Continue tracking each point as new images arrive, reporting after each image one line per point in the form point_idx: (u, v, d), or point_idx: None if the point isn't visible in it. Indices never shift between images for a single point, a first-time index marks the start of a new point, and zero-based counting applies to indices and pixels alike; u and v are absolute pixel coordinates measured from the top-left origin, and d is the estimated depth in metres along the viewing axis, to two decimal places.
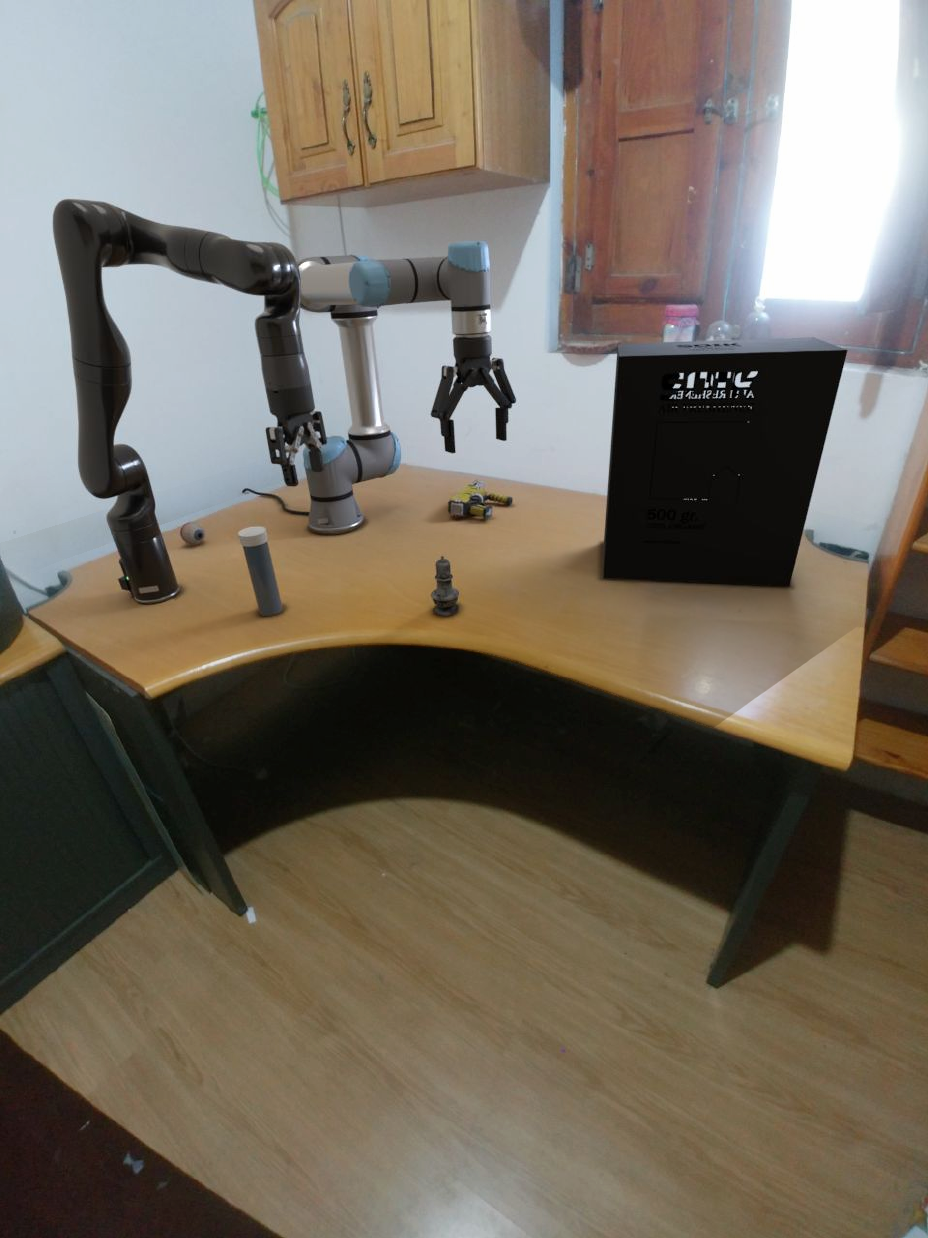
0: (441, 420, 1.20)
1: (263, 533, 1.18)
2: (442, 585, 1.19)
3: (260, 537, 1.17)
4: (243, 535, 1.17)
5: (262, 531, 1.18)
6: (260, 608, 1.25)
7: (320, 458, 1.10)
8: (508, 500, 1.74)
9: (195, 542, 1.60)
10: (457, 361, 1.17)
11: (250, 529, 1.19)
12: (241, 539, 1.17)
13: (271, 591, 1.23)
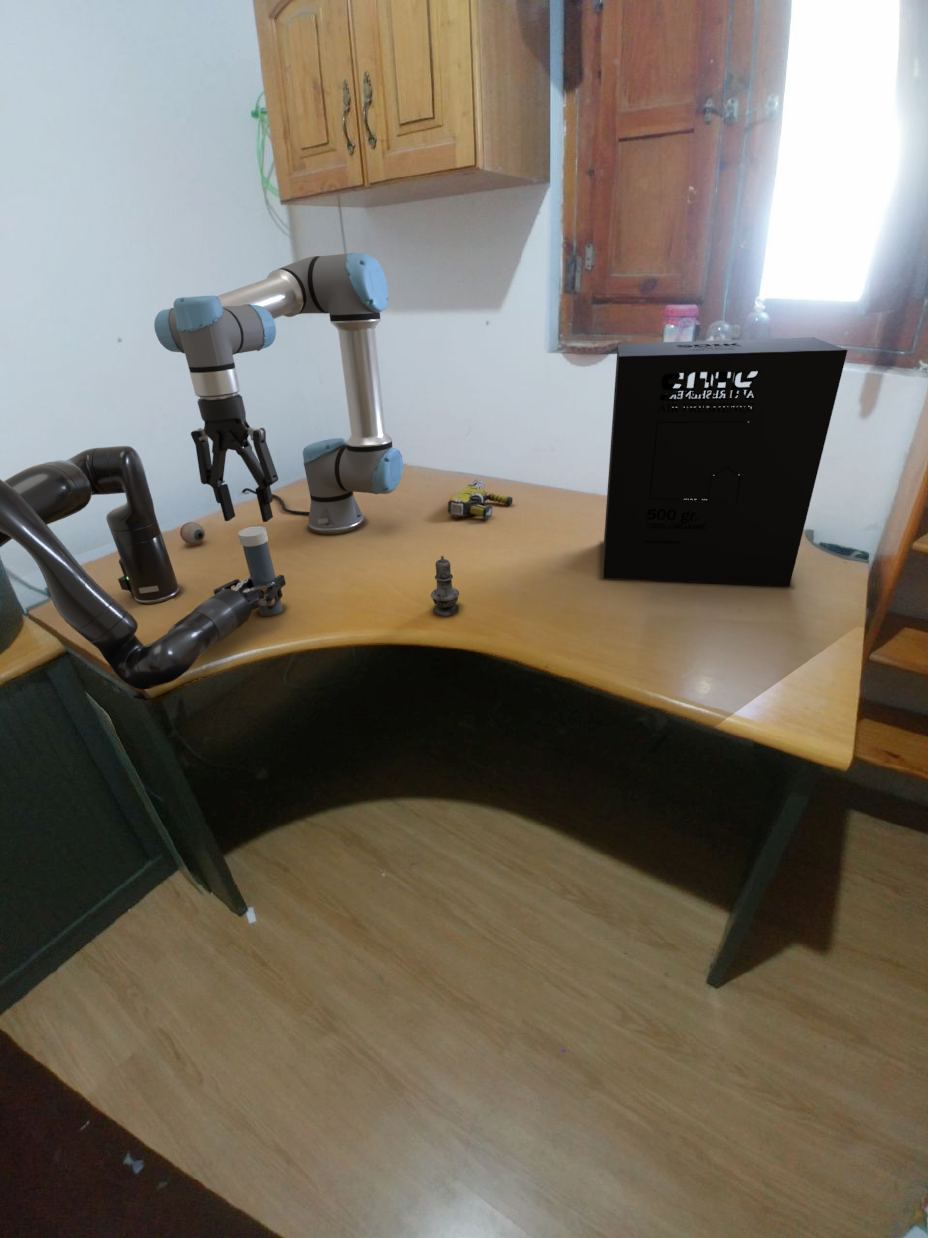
0: (268, 486, 1.13)
1: (263, 533, 1.18)
2: (442, 585, 1.19)
3: (260, 537, 1.17)
4: (243, 535, 1.17)
5: (262, 531, 1.18)
6: (260, 608, 1.25)
7: None
8: (508, 500, 1.74)
9: (195, 542, 1.60)
10: (244, 420, 1.07)
11: (250, 529, 1.19)
12: (241, 539, 1.17)
13: None
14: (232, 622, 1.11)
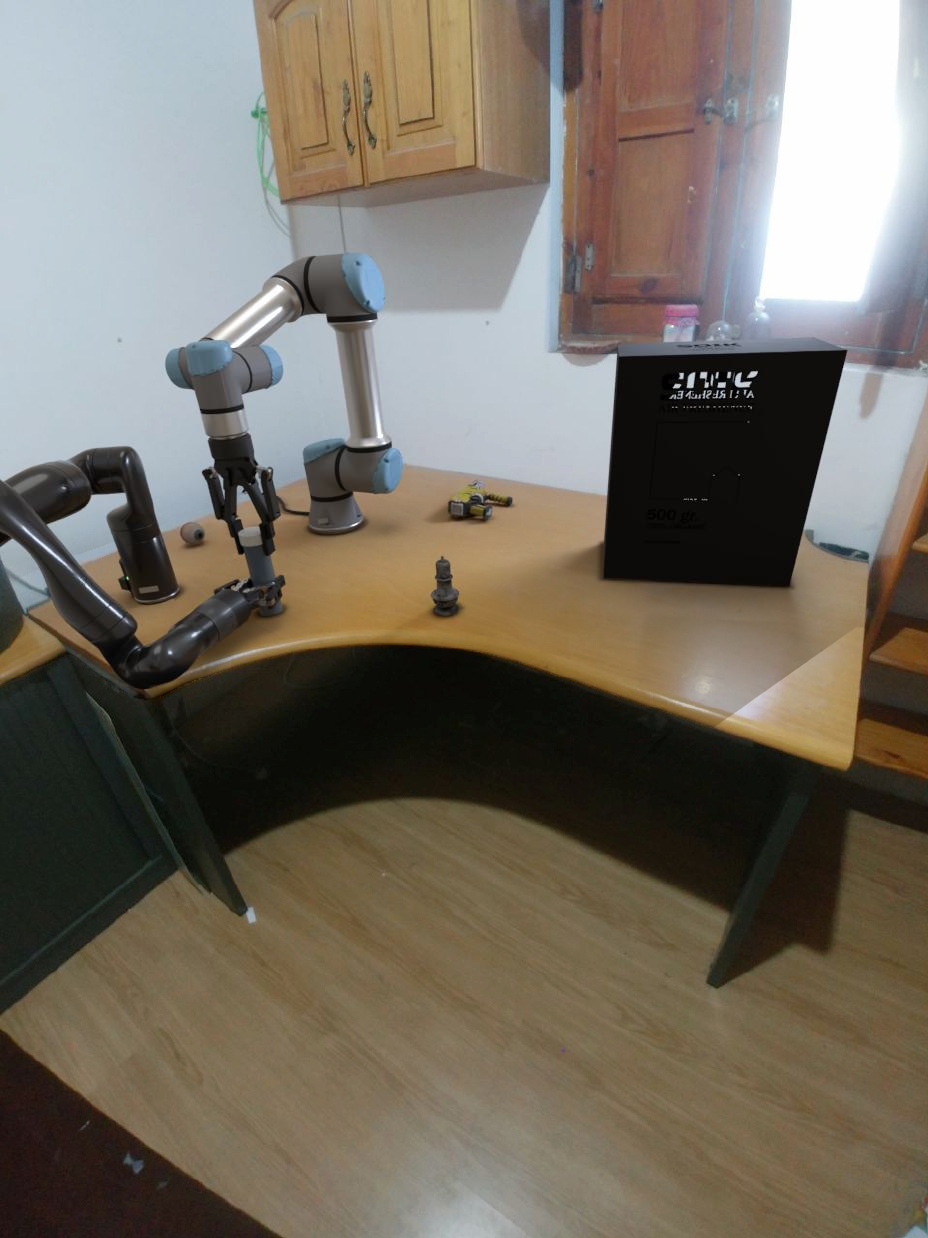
0: (271, 522, 1.17)
1: None
2: (442, 585, 1.19)
3: (260, 537, 1.17)
4: (243, 535, 1.17)
5: None
6: (260, 608, 1.25)
7: None
8: (508, 500, 1.74)
9: (195, 542, 1.60)
10: (252, 458, 1.11)
11: (250, 529, 1.19)
12: (241, 539, 1.17)
13: None
14: (232, 622, 1.11)
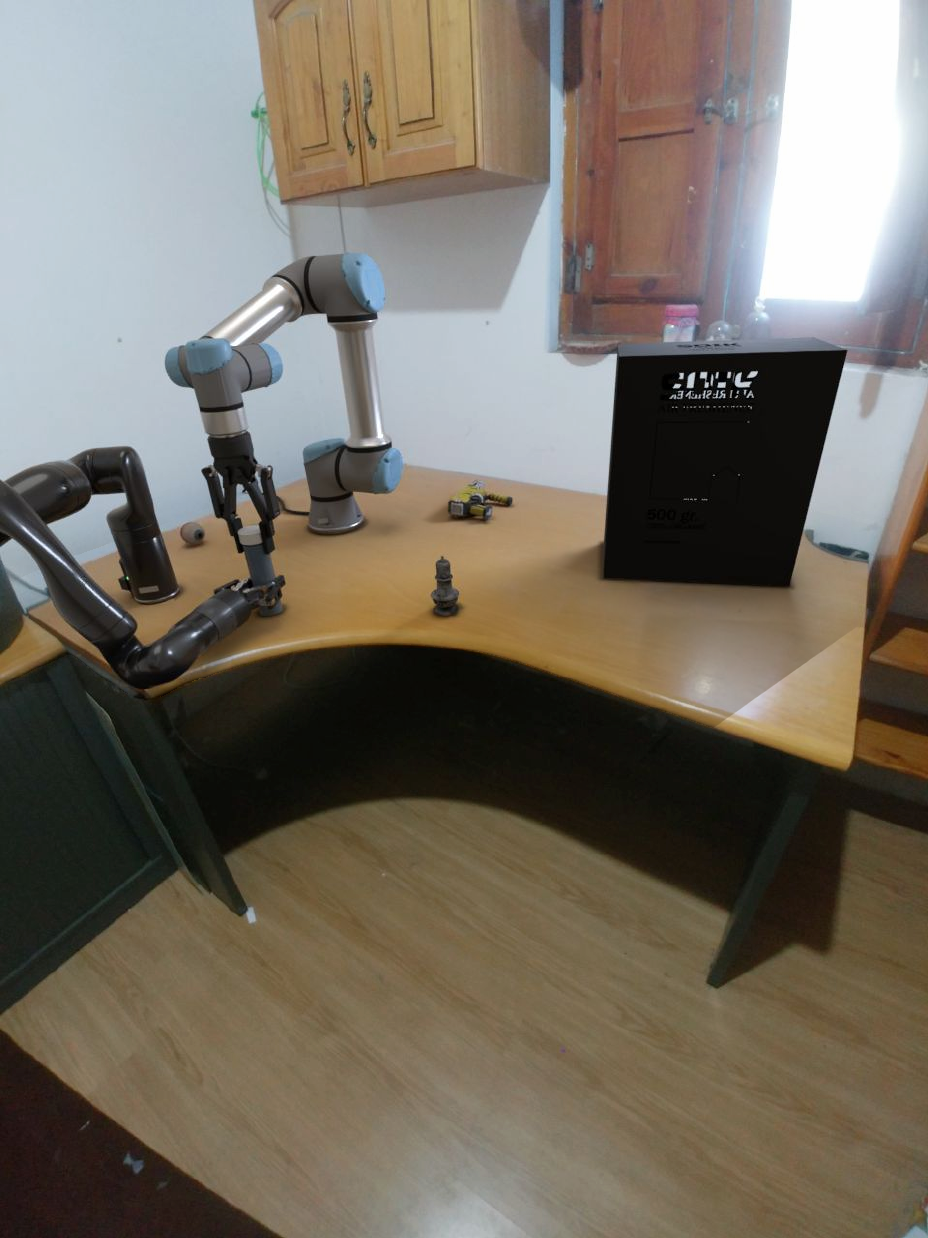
0: (271, 520, 1.16)
1: None
2: (442, 585, 1.19)
3: None
4: None
5: (253, 525, 1.20)
6: (260, 608, 1.25)
7: None
8: (508, 500, 1.74)
9: (195, 542, 1.60)
10: (252, 456, 1.10)
11: (246, 531, 1.18)
12: None
13: None
14: (232, 622, 1.11)
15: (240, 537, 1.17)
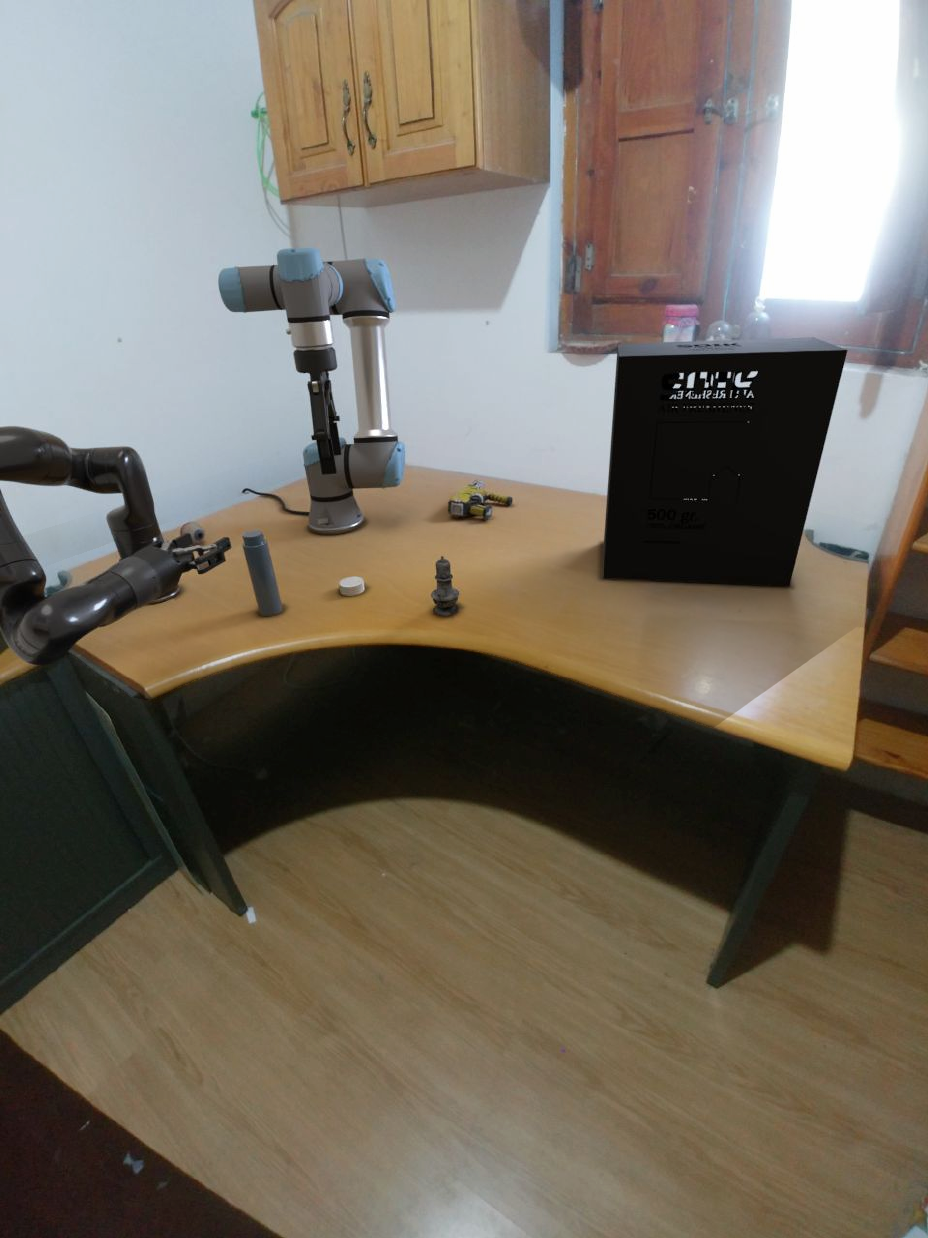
0: None
1: (339, 584, 1.32)
2: (442, 585, 1.19)
3: None
4: (351, 577, 1.35)
5: (341, 584, 1.32)
6: (260, 608, 1.25)
7: None
8: (508, 500, 1.74)
9: (195, 542, 1.60)
10: None
11: (355, 582, 1.32)
12: None
13: (271, 591, 1.23)
14: (154, 585, 0.93)
15: (361, 586, 1.32)
